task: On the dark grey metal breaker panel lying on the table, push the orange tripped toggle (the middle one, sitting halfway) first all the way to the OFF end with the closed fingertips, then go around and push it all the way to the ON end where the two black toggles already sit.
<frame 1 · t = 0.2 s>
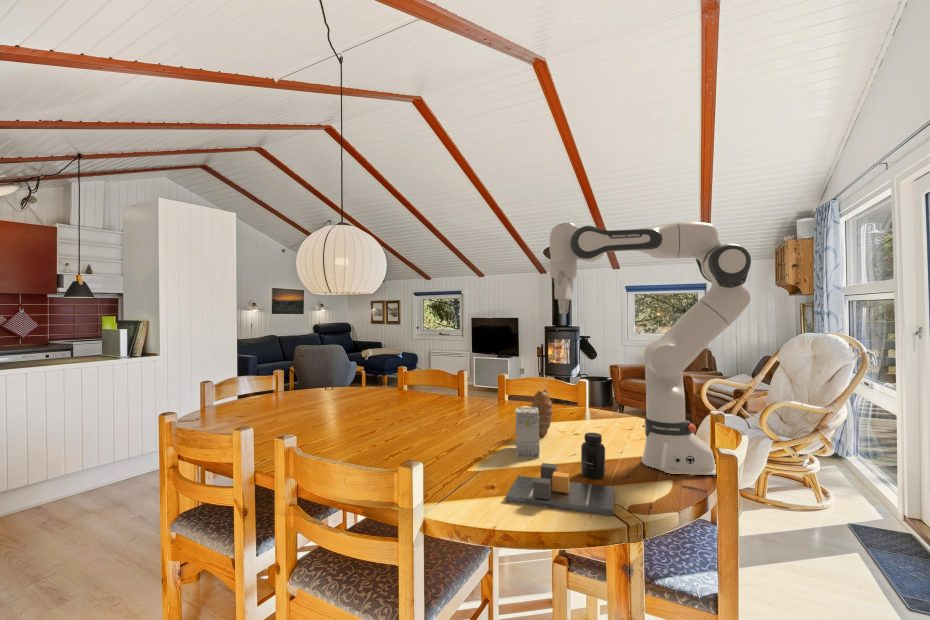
hand: (563, 313, 147), 48 cm above the table, tool pointing down, fingers open, 8 cm apart
toggle a: (548, 472, 121), point 4 cm above the table, slide at 8.0 cm
tripped toggle: (560, 482, 114), point 4 cm above the table, slide at 4.0 cm
panel: (561, 496, 114), on the table
circuit breaker: (527, 451, 152), on the table
supplement bottle: (593, 475, 129), on the table
toggle c: (542, 488, 111), point 4 cm above the table, slide at 8.0 cm
brown ribbed ovoid: (542, 436, 169), on the table
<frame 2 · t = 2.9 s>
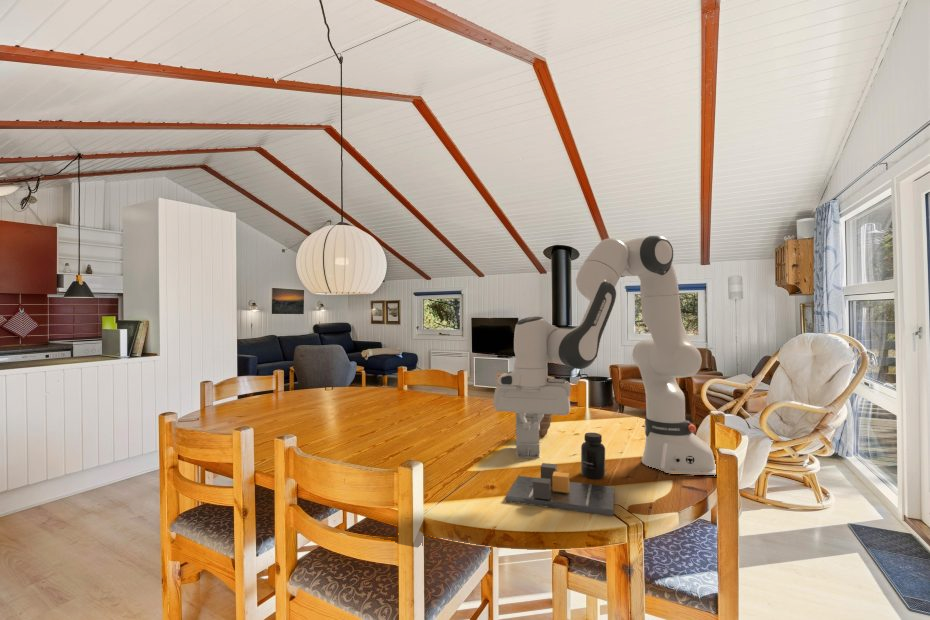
hand: (531, 429, 117), 17 cm above the table, tool pointing down, fingers closed
nothing on the table moved.
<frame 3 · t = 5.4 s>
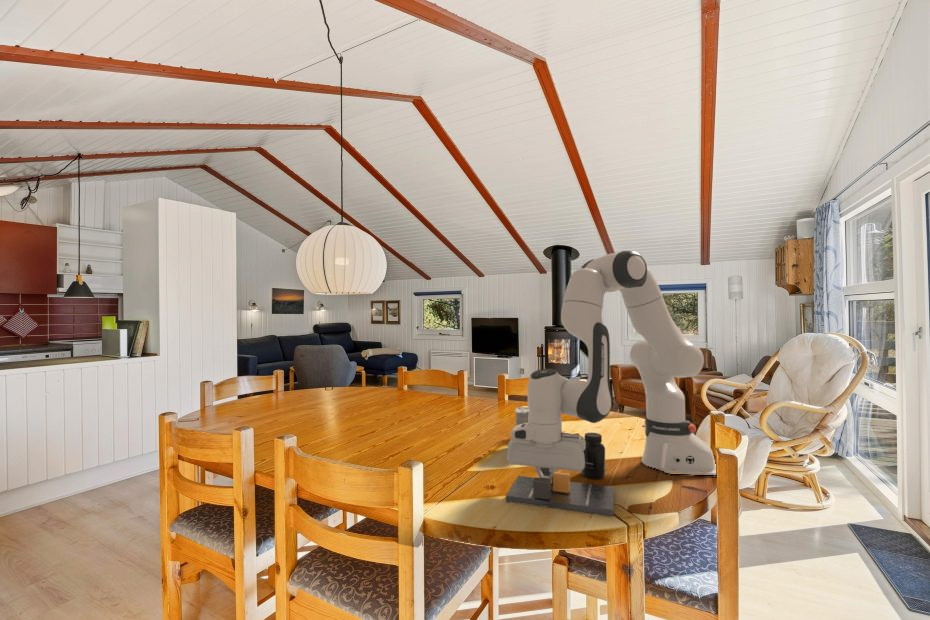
hand: (545, 483, 116), 3 cm above the table, tool pointing down, fingers closed
tripped toggle: (561, 482, 114), point 4 cm above the table, slide at 3.8 cm, touching gripper
everything else where it was.
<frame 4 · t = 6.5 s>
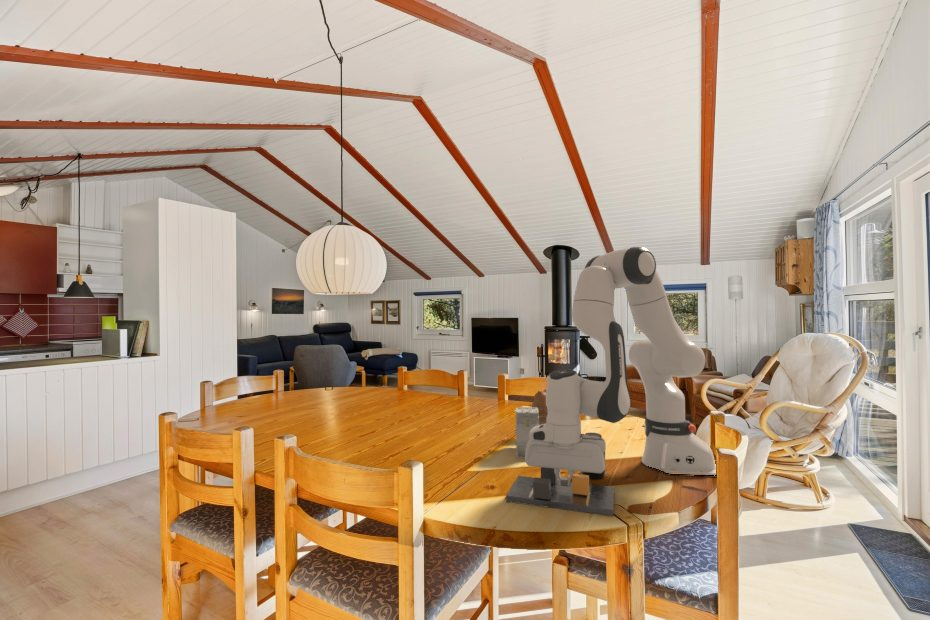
hand: (564, 485, 114), 3 cm above the table, tool pointing down, fingers closed
tripped toggle: (580, 484, 113), point 4 cm above the table, slide at -1.0 cm, touching gripper
everything else where it was.
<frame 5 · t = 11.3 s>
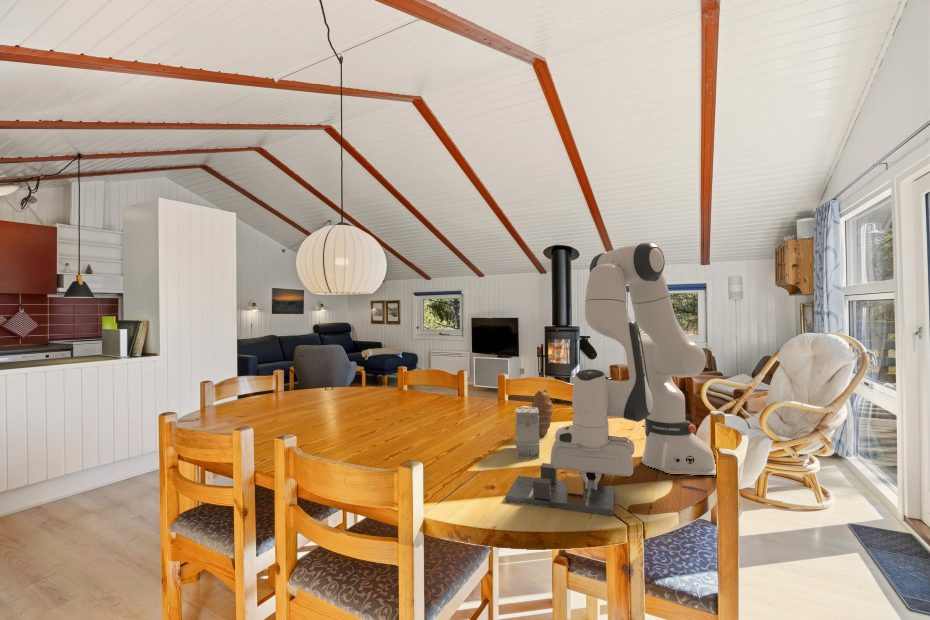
hand: (591, 488, 112), 3 cm above the table, tool pointing down, fingers closed
tripped toggle: (575, 483, 113), point 4 cm above the table, slide at 0.4 cm, touching gripper
everything else where it was.
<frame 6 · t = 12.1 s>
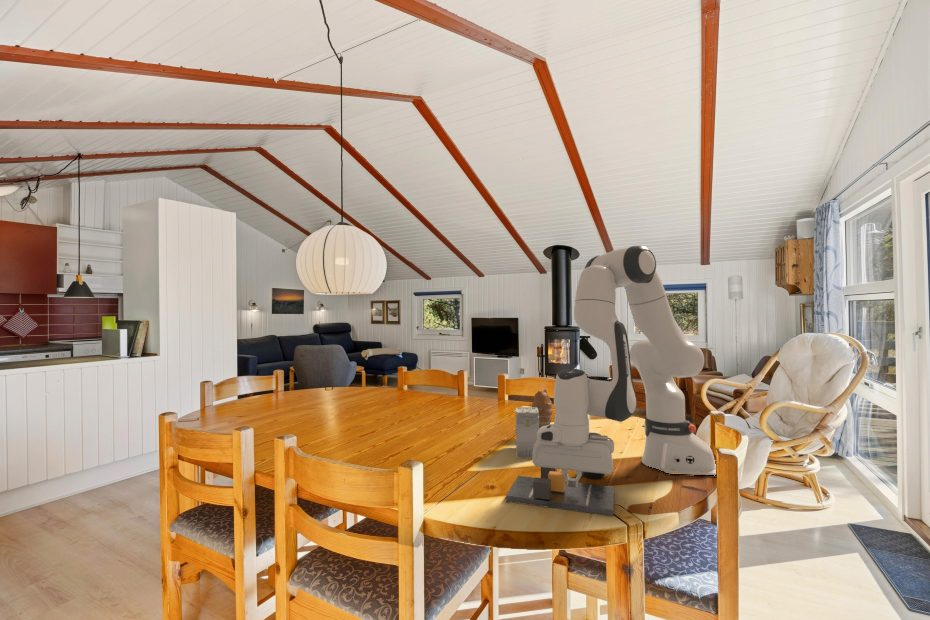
hand: (572, 486, 113), 3 cm above the table, tool pointing down, fingers closed
tripped toggle: (556, 481, 115), point 4 cm above the table, slide at 5.1 cm, touching gripper
everything else where it was.
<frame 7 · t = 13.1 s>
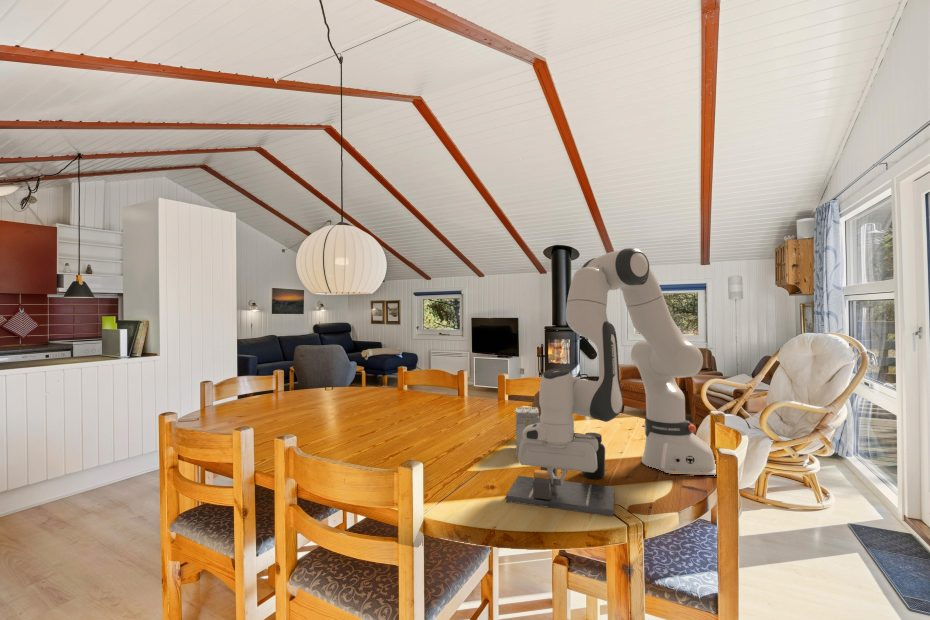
hand: (557, 484, 115), 3 cm above the table, tool pointing down, fingers closed
tripped toggle: (542, 479, 116), point 4 cm above the table, slide at 8.9 cm, touching gripper
everything else where it was.
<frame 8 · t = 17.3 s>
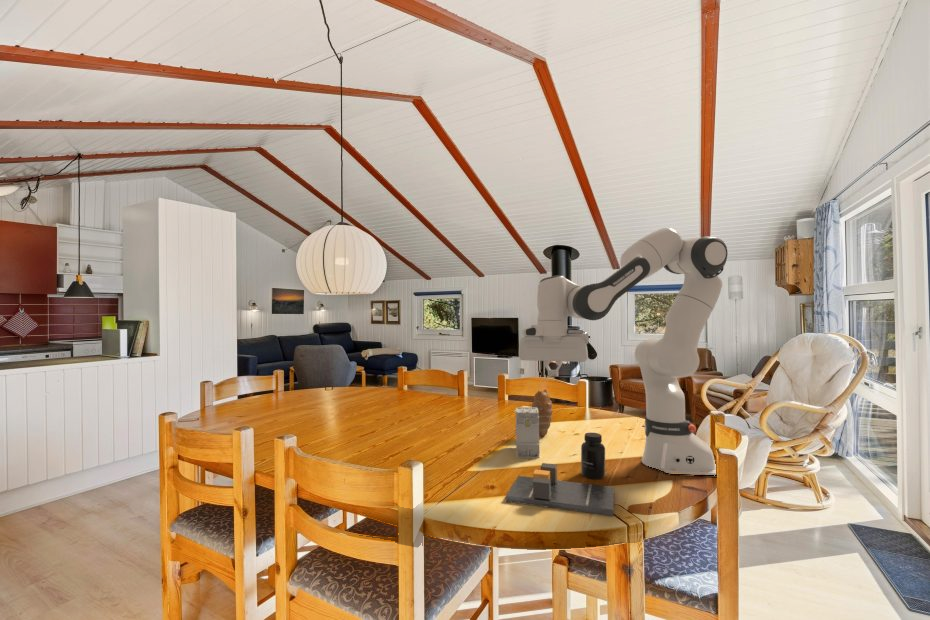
hand: (553, 376, 131), 29 cm above the table, tool pointing down, fingers closed
tripped toggle: (541, 479, 116), point 4 cm above the table, slide at 9.0 cm
everything else where it was.
at the end: tripped toggle slide at 9.0 cm; toggle a slide at 8.0 cm; toggle c slide at 8.0 cm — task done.
